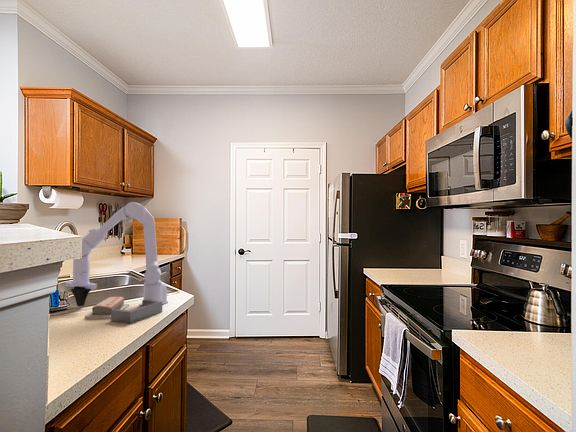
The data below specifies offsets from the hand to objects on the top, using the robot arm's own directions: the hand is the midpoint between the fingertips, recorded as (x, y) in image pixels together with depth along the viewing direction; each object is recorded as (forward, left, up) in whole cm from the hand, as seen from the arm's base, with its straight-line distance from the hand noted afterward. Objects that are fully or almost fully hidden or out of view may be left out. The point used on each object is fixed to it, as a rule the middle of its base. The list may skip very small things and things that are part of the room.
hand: (80, 305), depth 143 cm
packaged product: (0, +14, -2) cm, 14 cm away
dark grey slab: (0, +28, -1) cm, 28 cm away
